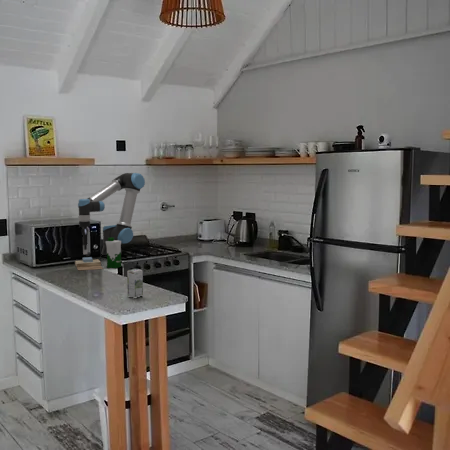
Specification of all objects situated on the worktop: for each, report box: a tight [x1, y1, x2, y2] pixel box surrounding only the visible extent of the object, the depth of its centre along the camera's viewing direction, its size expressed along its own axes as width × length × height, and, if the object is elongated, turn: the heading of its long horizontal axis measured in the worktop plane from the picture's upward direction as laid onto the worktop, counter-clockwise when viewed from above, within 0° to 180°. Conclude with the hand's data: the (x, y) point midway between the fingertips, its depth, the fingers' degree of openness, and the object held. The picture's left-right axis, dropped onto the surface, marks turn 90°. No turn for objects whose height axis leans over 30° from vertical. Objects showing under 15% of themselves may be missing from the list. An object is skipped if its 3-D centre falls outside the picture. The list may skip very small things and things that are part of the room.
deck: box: [74, 258, 102, 268], centre depth 374 cm, size 12×16×3 cm
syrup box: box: [126, 268, 144, 297], centre depth 283 cm, size 6×6×14 cm
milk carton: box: [106, 238, 122, 269], centre depth 367 cm, size 9×9×20 cm
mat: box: [76, 265, 104, 272], centre depth 364 cm, size 10×16×1 cm, turn 110°
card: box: [82, 256, 94, 263], centre depth 375 cm, size 9×6×2 cm, turn 20°
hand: (85, 254), depth 385 cm, fingers closed
